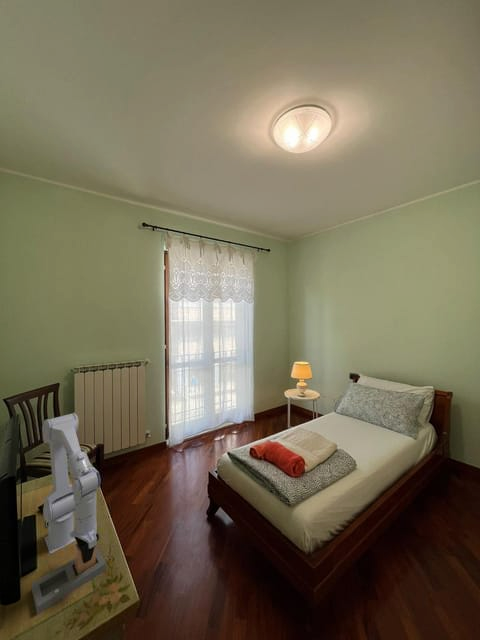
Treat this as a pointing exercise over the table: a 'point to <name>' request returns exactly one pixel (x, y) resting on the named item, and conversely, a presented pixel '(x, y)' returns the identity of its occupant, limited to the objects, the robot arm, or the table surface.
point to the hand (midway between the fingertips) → (85, 556)
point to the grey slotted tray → (63, 582)
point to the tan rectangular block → (79, 563)
